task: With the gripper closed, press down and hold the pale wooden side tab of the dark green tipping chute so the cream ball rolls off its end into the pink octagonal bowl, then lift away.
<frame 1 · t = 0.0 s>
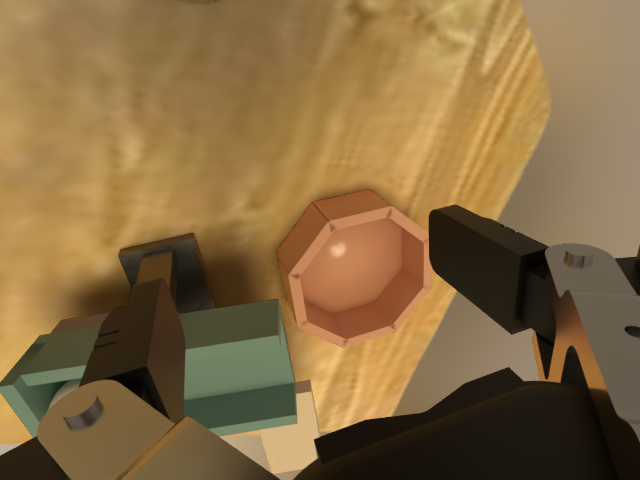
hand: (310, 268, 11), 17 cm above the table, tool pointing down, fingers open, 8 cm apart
pink octagonal bowl: (347, 258, 32), on the table
chute: (199, 413, 25), point 7 cm above the table, hinge at 12.0°, touching ball
ball: (90, 408, 21), point 8 cm above the table, tilted 6°, touching chute
chute stand: (179, 303, 29), on the table
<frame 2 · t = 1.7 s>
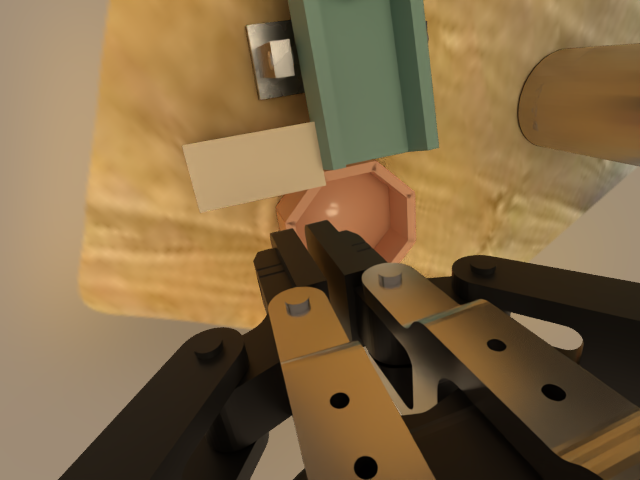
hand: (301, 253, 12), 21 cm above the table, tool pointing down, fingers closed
pink octagonal bowl: (339, 217, 36), on the table
chute: (294, 62, 22), point 7 cm above the table, hinge at 12.0°, touching ball
chute stand: (320, 54, 30), on the table
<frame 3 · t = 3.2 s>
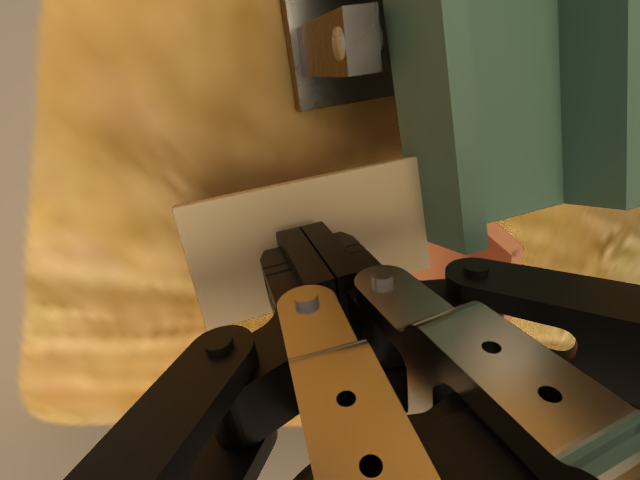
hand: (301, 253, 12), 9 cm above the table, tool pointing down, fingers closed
pink octagonal bowl: (401, 275, 25), on the table
chute: (387, 47, 12), point 7 cm above the table, hinge at 12.0°, touching ball, gripper
chute stand: (392, 40, 19), on the table
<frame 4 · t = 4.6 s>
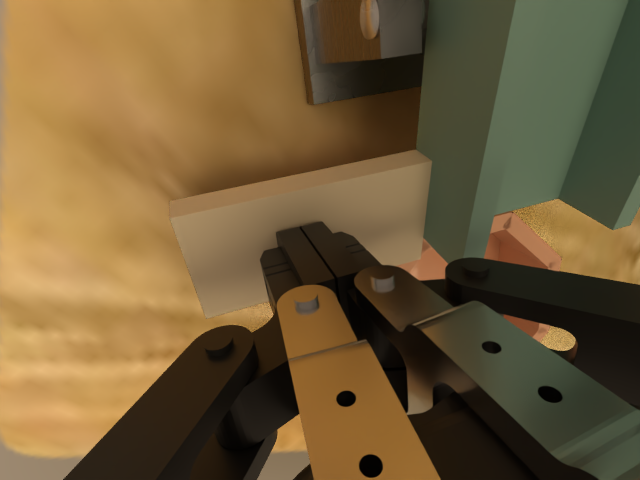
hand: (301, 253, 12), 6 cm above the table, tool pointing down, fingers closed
pink octagonal bowl: (421, 288, 23), on the table
chute: (427, 37, 10), point 7 cm above the table, hinge at -11.1°, touching gripper
chute stand: (418, 23, 17), on the table
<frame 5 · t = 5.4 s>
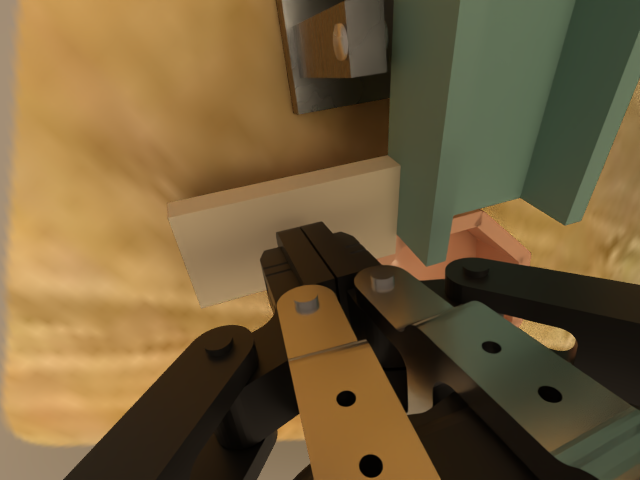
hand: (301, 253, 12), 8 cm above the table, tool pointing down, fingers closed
pink octagonal bowl: (404, 283, 24), on the table
chute: (390, 59, 11), point 7 cm above the table, hinge at -11.2°
chute stand: (394, 39, 18), on the table
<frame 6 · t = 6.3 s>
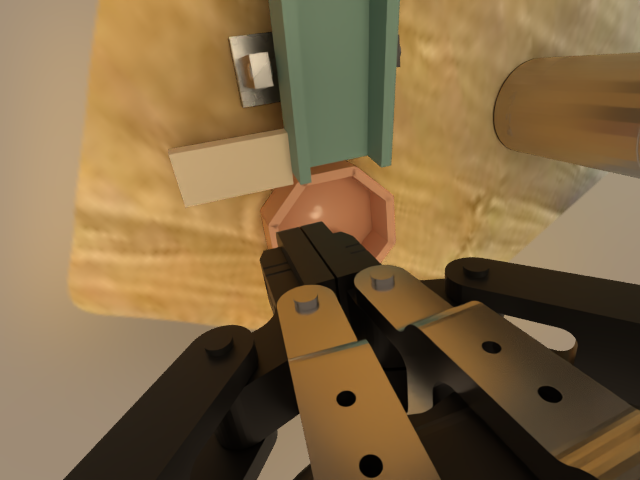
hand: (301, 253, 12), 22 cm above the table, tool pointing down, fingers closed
pink octagonal bowl: (322, 220, 37), on the table
chute: (273, 80, 24), point 7 cm above the table, hinge at -11.2°
chute stand: (301, 64, 31), on the table
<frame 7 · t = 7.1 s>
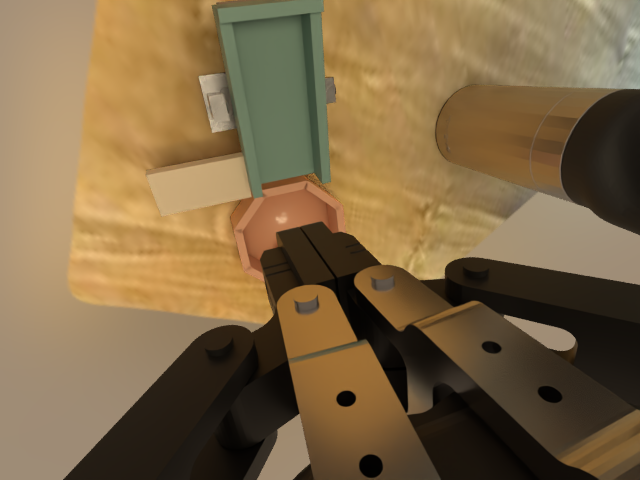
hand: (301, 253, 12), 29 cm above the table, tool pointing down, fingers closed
pink octagonal bowl: (285, 224, 43), on the table
chute: (228, 116, 30), point 7 cm above the table, hinge at -11.2°
chute stand: (261, 95, 37), on the table
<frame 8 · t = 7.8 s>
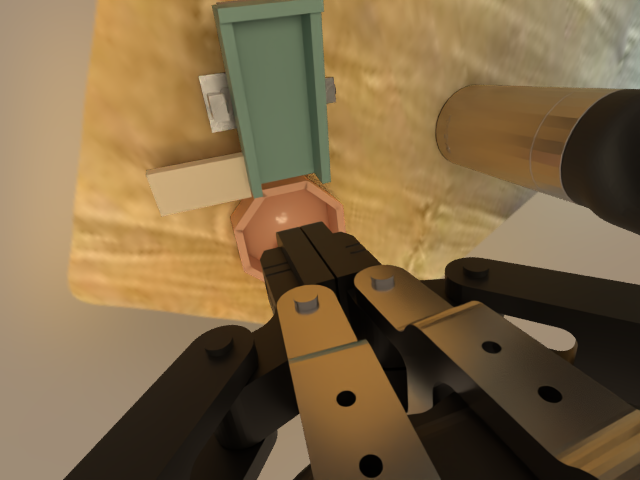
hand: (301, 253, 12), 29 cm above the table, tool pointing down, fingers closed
pink octagonal bowl: (285, 224, 43), on the table
chute: (228, 116, 30), point 7 cm above the table, hinge at -11.2°
chute stand: (261, 95, 37), on the table
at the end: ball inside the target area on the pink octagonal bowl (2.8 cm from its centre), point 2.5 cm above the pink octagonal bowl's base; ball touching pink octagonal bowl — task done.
